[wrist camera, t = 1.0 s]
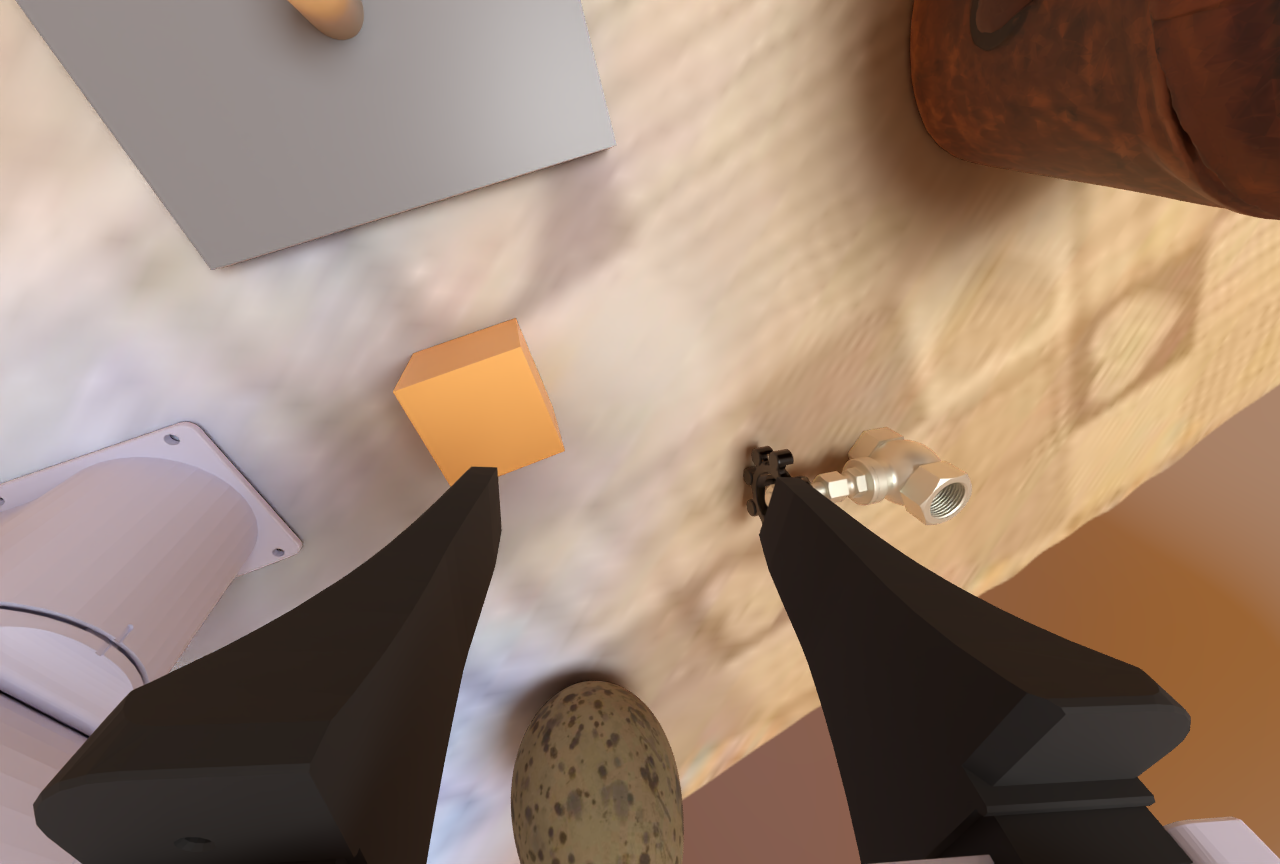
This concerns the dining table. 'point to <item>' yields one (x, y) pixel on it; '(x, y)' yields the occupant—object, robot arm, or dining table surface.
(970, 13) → the brown tapered pot
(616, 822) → the decorative egg
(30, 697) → the robot arm
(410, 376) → the light orange cube
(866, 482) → the valve
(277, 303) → the dining table surface
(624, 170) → the dining table surface
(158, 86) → the plate
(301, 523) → the dining table surface
